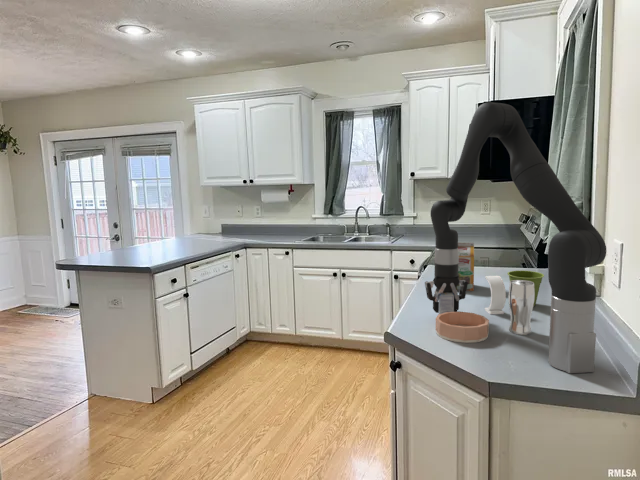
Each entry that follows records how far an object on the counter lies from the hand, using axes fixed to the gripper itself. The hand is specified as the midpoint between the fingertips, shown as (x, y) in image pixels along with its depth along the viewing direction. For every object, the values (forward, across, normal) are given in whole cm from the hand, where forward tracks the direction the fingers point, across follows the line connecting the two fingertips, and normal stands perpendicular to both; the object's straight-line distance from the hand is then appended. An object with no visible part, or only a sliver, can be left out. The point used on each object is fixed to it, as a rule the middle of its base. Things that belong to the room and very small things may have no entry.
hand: (445, 311), depth 147 cm
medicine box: (+2, 0, 0) cm, 2 cm away
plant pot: (+2, +32, +10) cm, 34 cm away
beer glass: (+2, +17, -16) cm, 23 cm away
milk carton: (+2, +19, +38) cm, 43 cm away
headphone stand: (+2, +18, +3) cm, 18 cm away
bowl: (+2, 0, -16) cm, 16 cm away
